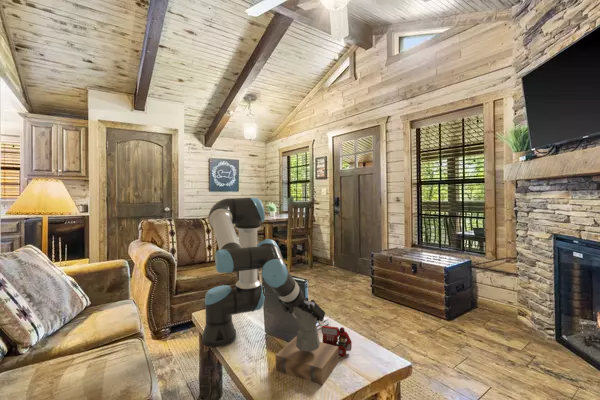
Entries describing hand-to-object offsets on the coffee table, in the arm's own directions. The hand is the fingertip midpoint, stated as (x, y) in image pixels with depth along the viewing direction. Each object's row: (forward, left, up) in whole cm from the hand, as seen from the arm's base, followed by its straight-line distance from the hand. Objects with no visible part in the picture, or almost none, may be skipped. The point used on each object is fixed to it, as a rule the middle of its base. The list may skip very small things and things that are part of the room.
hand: (310, 320), depth 115 cm
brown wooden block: (0, -3, -16) cm, 17 cm away
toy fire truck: (+6, +11, -17) cm, 21 cm away
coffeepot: (0, -3, -8) cm, 9 cm away
